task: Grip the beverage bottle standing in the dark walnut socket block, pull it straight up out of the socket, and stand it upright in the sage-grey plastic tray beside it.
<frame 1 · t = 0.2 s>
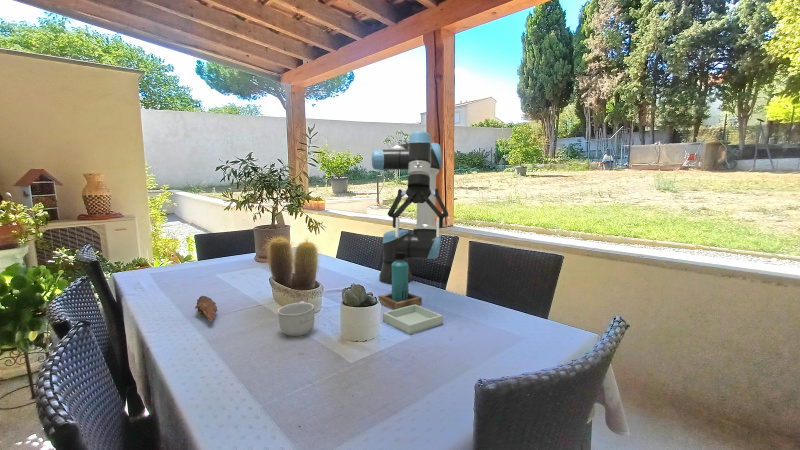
hand: (417, 237, 127), 28 cm above the table, tool tilted 20°, fingers open, 13 cm apart
tray: (412, 322, 126), on the table
socket block: (399, 304, 144), on the table
teacup: (299, 331, 120), on the table
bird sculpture: (207, 316, 132), on the table
beverage bottle: (399, 305, 144), resting in socket block
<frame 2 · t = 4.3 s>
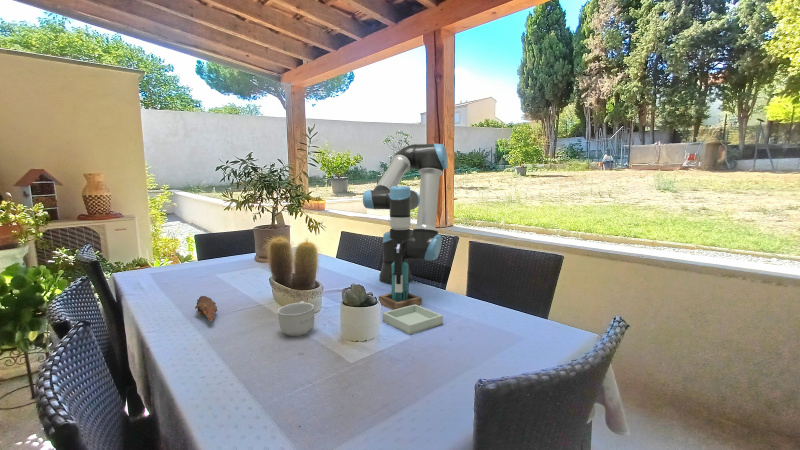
hand: (399, 289, 144), 6 cm above the table, tool pointing down, fingers closed on beverage bottle, 6 cm apart
beverage bottle: (399, 305, 144), resting in socket block, touching gripper
everything else where it was.
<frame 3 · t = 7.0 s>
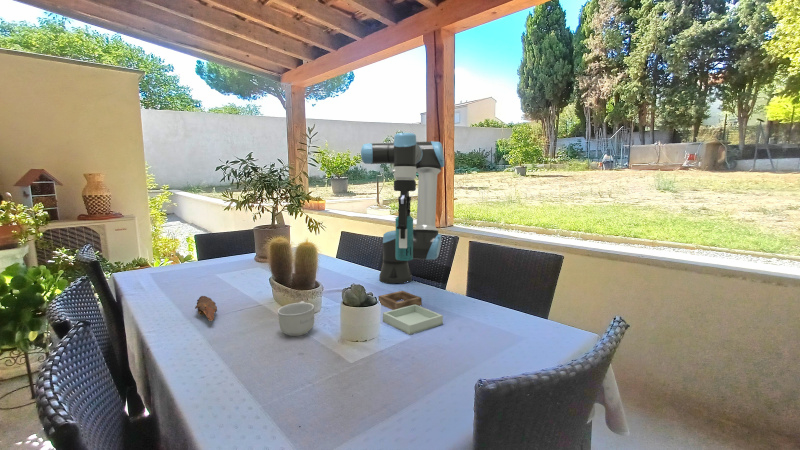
hand: (404, 246, 133), 24 cm above the table, tool pointing down, fingers closed on beverage bottle, 6 cm apart
beverage bottle: (404, 263, 134), point 18 cm above the table, touching gripper
everything else where it was.
when the fingers open (8 cm above the table, at t = 9.8 s): beverage bottle drops 1 cm, resting on tray.
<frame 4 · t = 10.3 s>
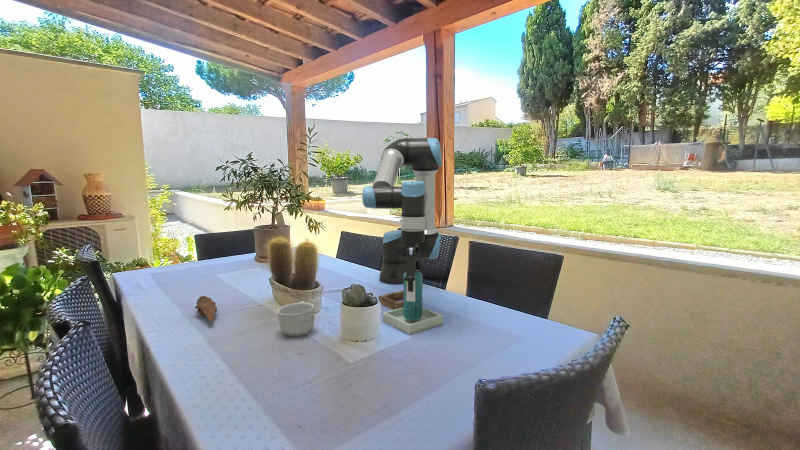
hand: (412, 294, 125), 10 cm above the table, tool pointing down, fingers open, 13 cm apart
beverage bottle: (412, 321, 126), resting on tray
everything else where it was.
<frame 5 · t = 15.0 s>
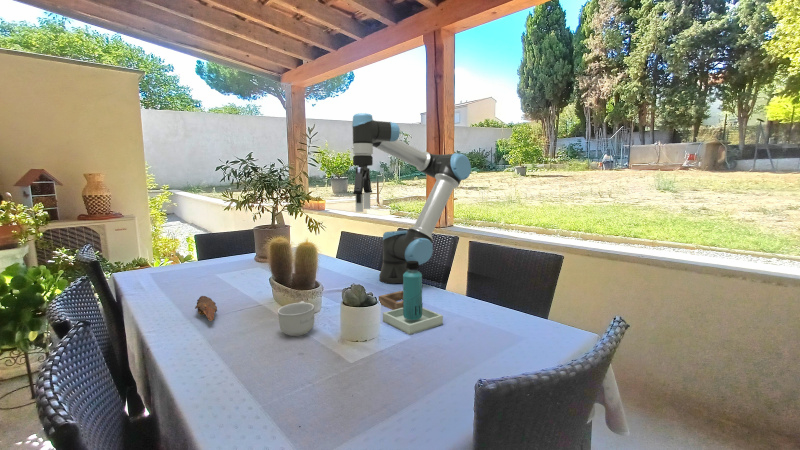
hand: (363, 210, 150), 35 cm above the table, tool pointing down, fingers open, 13 cm apart
nothing on the table moved.
at the end: beverage bottle inside the target area on the tray (0.3 cm from its centre), point 0.4 cm above the tray's base; beverage bottle tilted 0°; the gripper is holding nothing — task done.
